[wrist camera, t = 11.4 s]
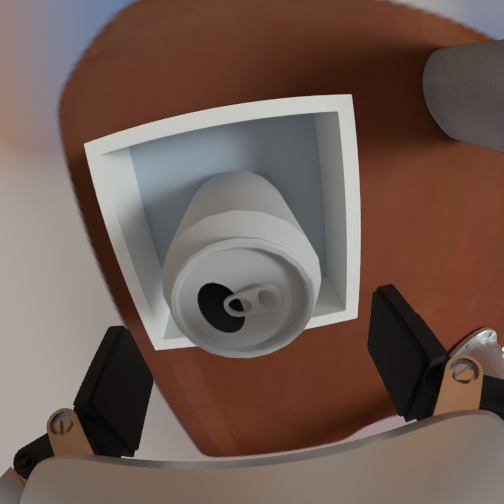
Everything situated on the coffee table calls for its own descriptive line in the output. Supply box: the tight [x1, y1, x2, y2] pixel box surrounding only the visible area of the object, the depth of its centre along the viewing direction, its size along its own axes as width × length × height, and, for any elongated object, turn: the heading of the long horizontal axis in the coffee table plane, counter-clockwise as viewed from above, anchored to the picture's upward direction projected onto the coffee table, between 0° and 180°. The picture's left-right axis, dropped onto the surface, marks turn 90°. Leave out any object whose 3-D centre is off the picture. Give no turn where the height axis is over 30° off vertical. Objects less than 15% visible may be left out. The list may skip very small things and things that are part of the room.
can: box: [161, 171, 322, 358], centre depth 17 cm, size 8×8×12 cm
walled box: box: [84, 94, 361, 350], centre depth 21 cm, size 16×16×6 cm
